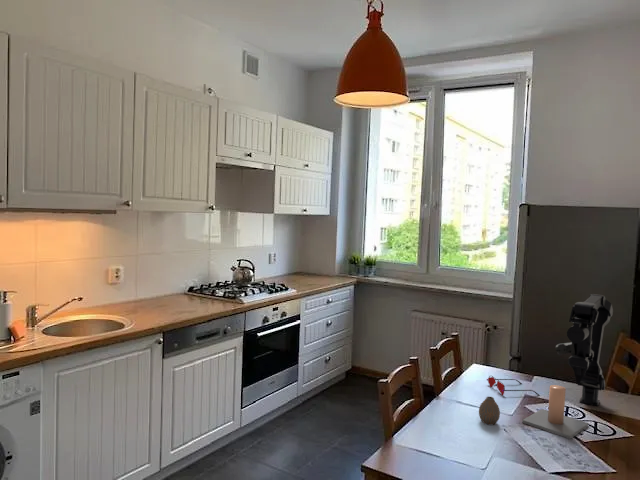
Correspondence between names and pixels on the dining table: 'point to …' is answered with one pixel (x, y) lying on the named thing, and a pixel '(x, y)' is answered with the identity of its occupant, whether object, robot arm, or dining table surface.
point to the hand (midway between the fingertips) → (579, 380)
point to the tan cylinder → (556, 404)
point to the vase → (489, 411)
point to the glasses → (501, 385)
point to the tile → (565, 429)
